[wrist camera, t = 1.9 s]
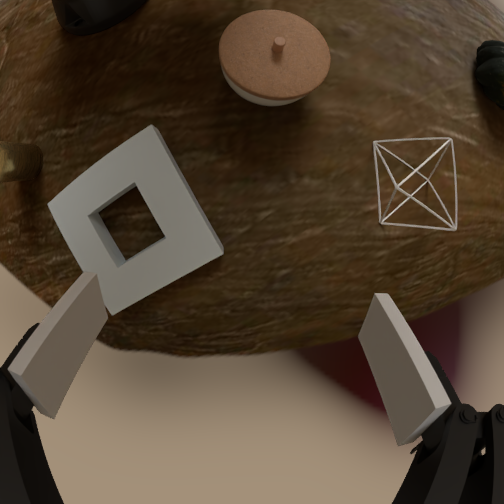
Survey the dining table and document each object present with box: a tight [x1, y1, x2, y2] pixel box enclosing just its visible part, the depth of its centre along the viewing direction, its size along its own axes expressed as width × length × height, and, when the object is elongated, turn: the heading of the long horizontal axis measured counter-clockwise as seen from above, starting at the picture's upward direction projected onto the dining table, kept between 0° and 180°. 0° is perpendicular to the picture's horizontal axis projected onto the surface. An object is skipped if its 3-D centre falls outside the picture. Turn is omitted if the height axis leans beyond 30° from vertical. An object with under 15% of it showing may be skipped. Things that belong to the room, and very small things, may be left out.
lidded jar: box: [219, 10, 331, 106], centre depth 23 cm, size 11×11×9 cm
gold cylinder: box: [0, 141, 43, 183], centre depth 21 cm, size 5×5×12 cm
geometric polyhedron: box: [373, 137, 457, 231], centre depth 28 cm, size 12×11×9 cm
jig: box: [48, 124, 224, 315], centre depth 29 cm, size 16×16×3 cm
